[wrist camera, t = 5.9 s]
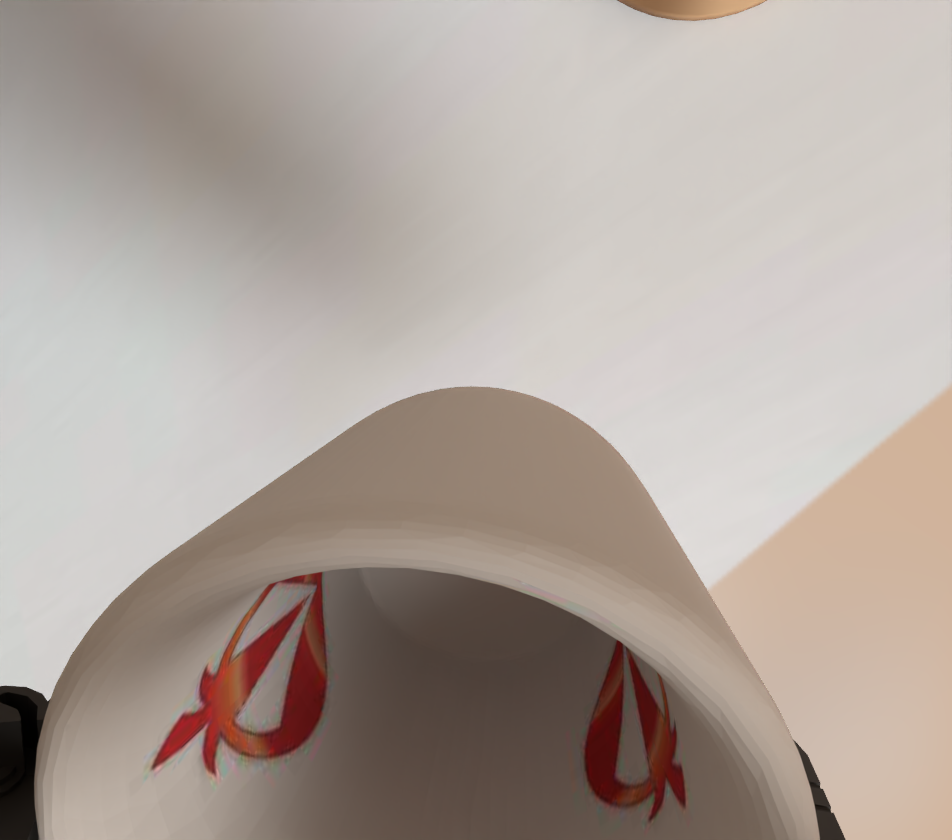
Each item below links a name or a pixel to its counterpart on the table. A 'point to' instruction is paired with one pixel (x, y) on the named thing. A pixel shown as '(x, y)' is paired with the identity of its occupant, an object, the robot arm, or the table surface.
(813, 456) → the table surface
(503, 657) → the cup
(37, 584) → the table surface
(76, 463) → the table surface
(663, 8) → the coaster
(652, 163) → the table surface
